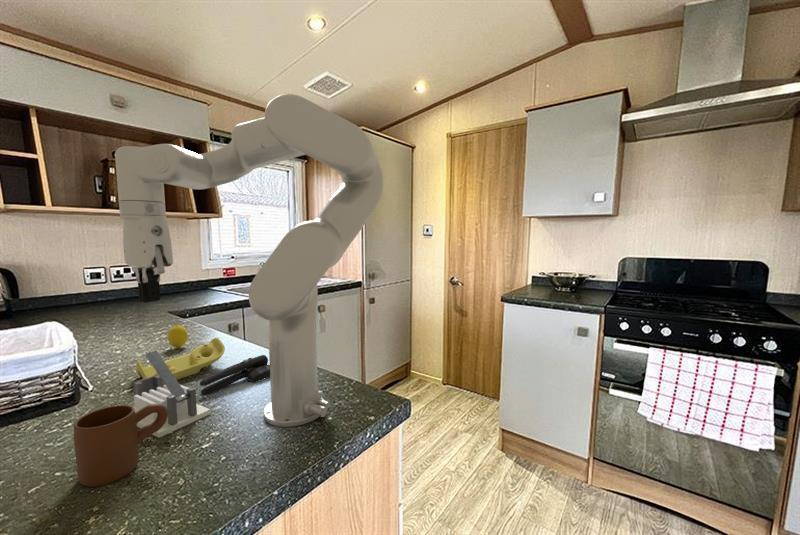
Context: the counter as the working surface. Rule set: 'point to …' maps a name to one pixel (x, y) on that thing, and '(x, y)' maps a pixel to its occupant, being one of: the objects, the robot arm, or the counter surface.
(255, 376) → the can opener
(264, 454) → the counter surface
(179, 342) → the lemon
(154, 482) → the counter surface
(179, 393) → the grey long flat bar
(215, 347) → the plastic component
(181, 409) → the heatsink board
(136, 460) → the mug
